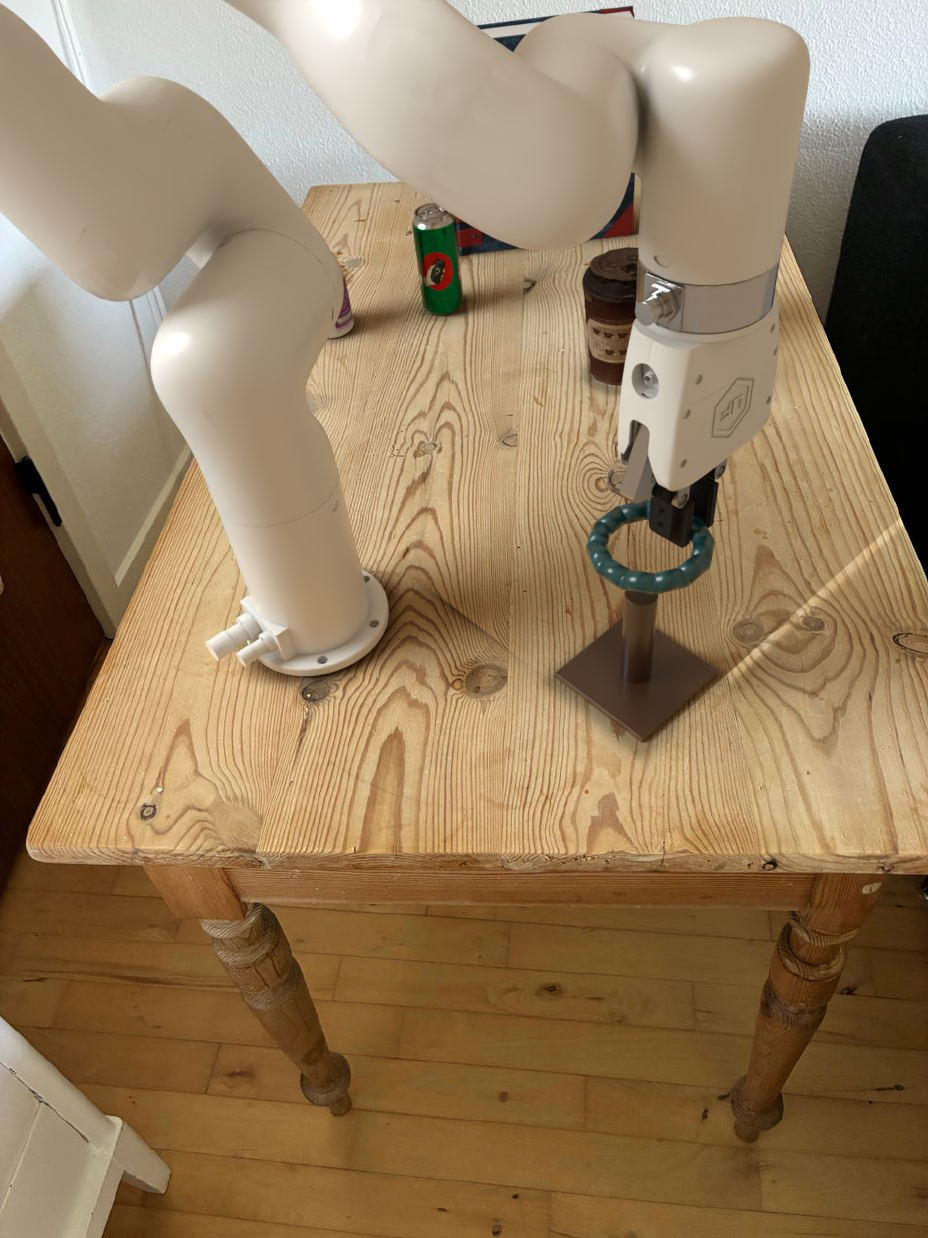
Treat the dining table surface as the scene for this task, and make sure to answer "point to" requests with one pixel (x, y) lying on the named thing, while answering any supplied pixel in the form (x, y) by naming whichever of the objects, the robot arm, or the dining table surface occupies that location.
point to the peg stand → (636, 670)
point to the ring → (640, 579)
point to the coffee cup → (610, 311)
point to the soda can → (438, 259)
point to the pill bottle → (343, 313)
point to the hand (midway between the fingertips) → (680, 526)
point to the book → (623, 218)
